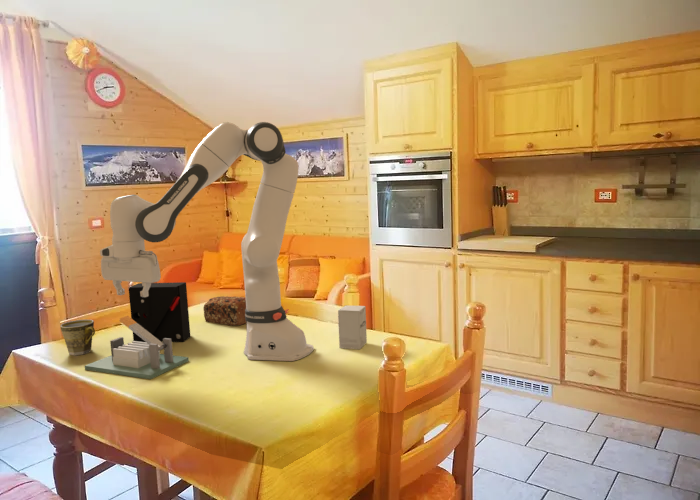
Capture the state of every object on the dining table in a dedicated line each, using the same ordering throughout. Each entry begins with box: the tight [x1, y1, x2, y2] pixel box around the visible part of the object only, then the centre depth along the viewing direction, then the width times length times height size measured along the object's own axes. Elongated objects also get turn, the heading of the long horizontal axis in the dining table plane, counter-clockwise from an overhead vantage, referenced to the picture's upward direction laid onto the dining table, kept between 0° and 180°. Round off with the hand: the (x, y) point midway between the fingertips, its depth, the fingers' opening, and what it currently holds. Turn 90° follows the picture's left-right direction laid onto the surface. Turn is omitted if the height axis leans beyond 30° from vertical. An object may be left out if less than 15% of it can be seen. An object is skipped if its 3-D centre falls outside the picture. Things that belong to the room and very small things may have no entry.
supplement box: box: [337, 305, 368, 350], centre depth 174 cm, size 7×7×13 cm
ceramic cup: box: [60, 319, 96, 356], centre depth 179 cm, size 13×10×10 cm
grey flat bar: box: [119, 315, 167, 351], centre depth 161 cm, size 17×4×1 cm
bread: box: [203, 295, 247, 327], centre depth 212 cm, size 19×11×10 cm, turn 56°
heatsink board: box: [84, 336, 190, 380], centre depth 164 cm, size 26×16×8 cm, turn 66°
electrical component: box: [128, 281, 191, 343], centre depth 189 cm, size 18×10×20 cm, turn 84°
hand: (132, 295), depth 161 cm, fingers open, 8 cm apart
